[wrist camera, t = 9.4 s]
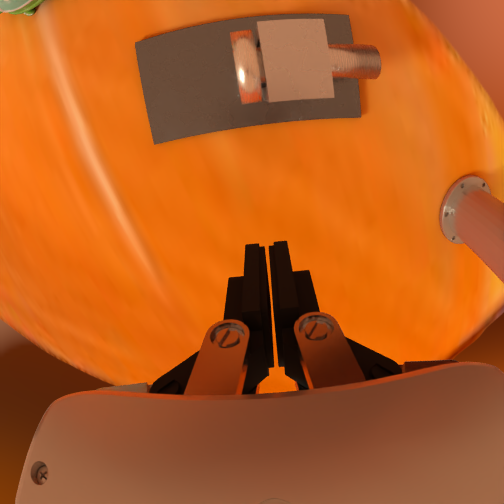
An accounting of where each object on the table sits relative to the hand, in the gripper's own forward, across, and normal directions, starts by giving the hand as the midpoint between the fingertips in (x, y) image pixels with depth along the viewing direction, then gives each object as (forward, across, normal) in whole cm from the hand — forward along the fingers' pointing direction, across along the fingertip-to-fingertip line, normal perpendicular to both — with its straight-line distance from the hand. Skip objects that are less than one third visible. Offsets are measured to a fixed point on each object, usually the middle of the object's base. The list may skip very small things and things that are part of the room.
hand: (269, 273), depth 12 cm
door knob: (+25, -6, -10) cm, 27 cm away
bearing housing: (+26, 0, -10) cm, 28 cm away
